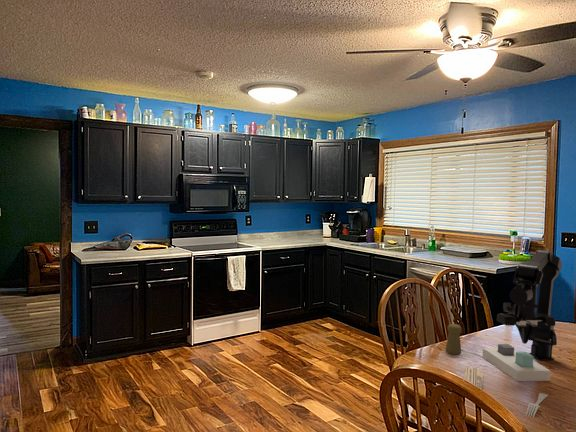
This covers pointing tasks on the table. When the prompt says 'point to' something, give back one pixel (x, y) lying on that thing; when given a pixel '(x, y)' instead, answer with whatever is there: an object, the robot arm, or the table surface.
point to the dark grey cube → (506, 349)
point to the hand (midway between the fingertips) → (524, 343)
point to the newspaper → (474, 376)
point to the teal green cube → (524, 359)
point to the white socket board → (516, 366)
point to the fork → (540, 399)
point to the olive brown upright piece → (453, 339)
